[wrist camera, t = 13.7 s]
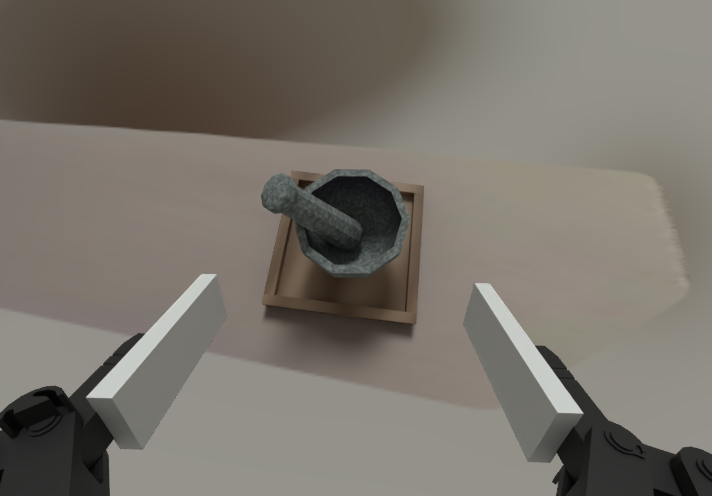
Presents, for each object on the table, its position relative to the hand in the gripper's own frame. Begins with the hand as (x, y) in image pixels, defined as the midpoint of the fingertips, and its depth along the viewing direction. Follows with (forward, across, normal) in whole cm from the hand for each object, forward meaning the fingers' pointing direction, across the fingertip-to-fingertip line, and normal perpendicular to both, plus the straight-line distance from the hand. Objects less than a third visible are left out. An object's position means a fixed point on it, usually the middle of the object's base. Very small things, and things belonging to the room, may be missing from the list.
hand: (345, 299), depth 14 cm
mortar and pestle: (+15, -1, -4) cm, 16 cm away
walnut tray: (+15, 0, -5) cm, 16 cm away
